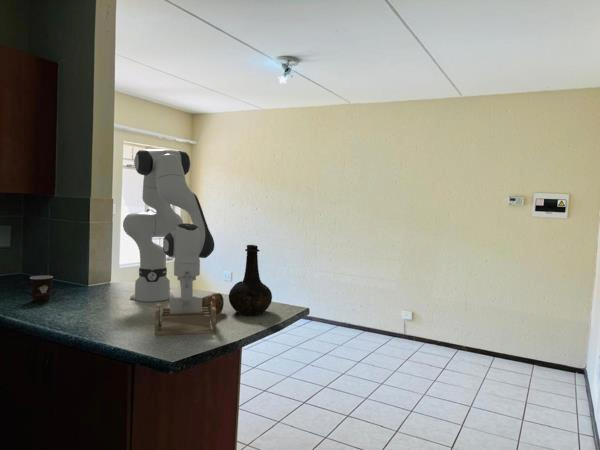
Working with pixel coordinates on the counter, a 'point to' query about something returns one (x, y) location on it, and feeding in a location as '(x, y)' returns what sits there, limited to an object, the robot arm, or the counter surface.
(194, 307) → the panel
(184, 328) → the rack
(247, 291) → the glass bottle
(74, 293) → the counter surface
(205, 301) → the tin
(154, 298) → the robot arm
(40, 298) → the coffee mug
